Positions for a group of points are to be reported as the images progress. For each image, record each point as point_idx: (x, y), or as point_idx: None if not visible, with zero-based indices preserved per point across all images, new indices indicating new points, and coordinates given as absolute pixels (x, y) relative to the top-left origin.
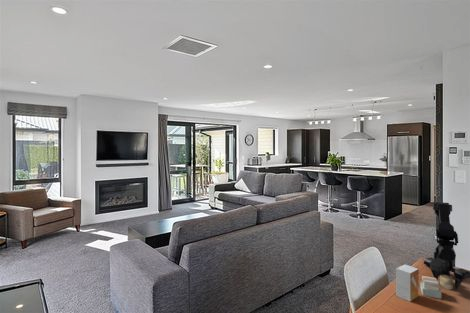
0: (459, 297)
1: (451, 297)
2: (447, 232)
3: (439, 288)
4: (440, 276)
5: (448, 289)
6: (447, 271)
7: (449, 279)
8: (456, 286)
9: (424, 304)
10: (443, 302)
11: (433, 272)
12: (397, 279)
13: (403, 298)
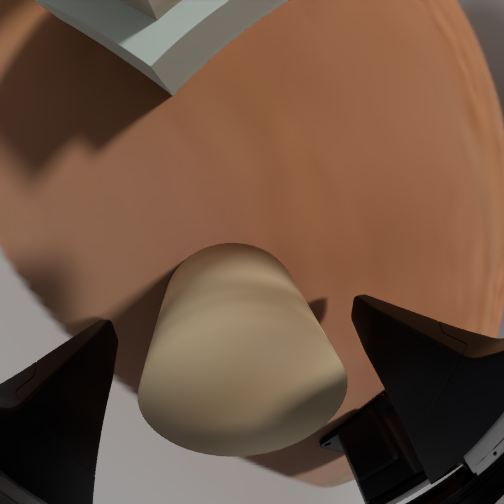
0: (21, 227)
1: (32, 140)
2: None
3: (66, 10)
4: (310, 350)
5: (171, 277)
6: (355, 463)
7: (139, 390)
8: (69, 340)
9: None
10: (28, 6)
11: (445, 337)
12: None
13: None
